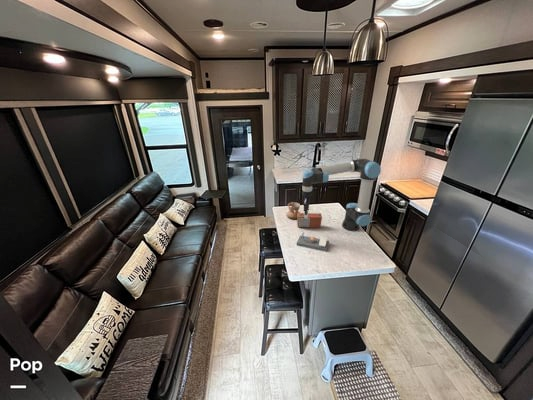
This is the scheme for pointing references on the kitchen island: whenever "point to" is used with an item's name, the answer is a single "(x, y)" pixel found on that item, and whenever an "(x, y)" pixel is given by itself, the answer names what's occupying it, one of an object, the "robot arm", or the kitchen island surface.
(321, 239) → the rocker switch
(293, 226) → the kitchen island surface
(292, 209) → the ceramic jug
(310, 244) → the switch panel
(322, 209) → the kitchen island surface
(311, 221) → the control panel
